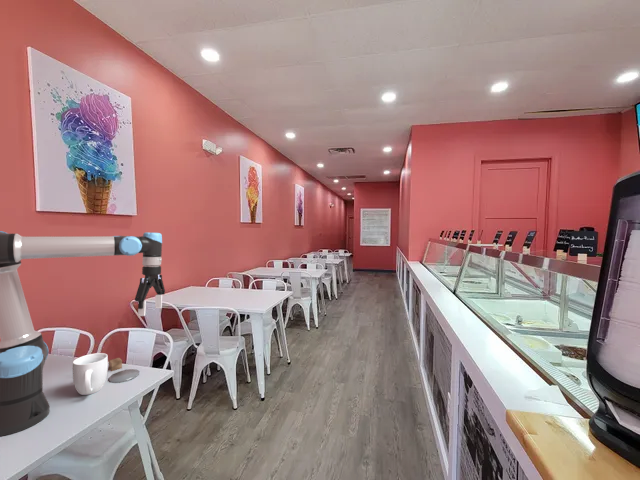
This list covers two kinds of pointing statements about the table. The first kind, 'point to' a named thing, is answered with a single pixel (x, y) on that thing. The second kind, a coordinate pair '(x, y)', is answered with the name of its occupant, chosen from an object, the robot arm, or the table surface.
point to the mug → (90, 373)
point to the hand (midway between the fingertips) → (150, 311)
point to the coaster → (124, 376)
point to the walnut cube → (115, 364)
